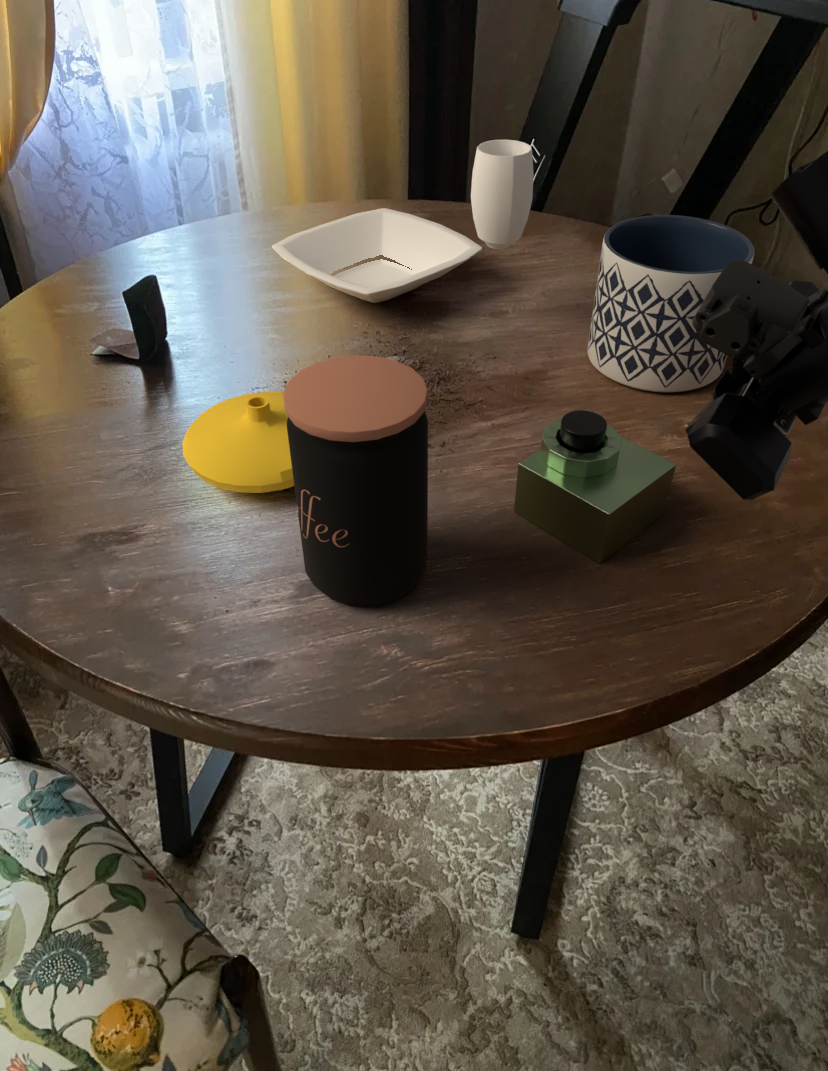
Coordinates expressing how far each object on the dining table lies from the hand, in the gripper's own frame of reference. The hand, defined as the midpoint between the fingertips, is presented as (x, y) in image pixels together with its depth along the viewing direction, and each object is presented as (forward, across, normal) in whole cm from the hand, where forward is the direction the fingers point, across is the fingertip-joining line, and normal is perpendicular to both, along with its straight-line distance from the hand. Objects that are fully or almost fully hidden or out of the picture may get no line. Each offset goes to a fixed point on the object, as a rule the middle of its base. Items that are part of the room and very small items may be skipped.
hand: (690, 432), depth 66 cm
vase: (+33, +10, -24) cm, 42 cm away
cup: (+35, -29, -17) cm, 49 cm away
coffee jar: (+21, +17, -10) cm, 29 cm away
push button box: (+15, 0, +2) cm, 15 cm away
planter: (+22, -30, +1) cm, 37 cm away
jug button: (+11, -2, -4) cm, 12 cm away
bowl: (+46, -29, -31) cm, 62 cm away
